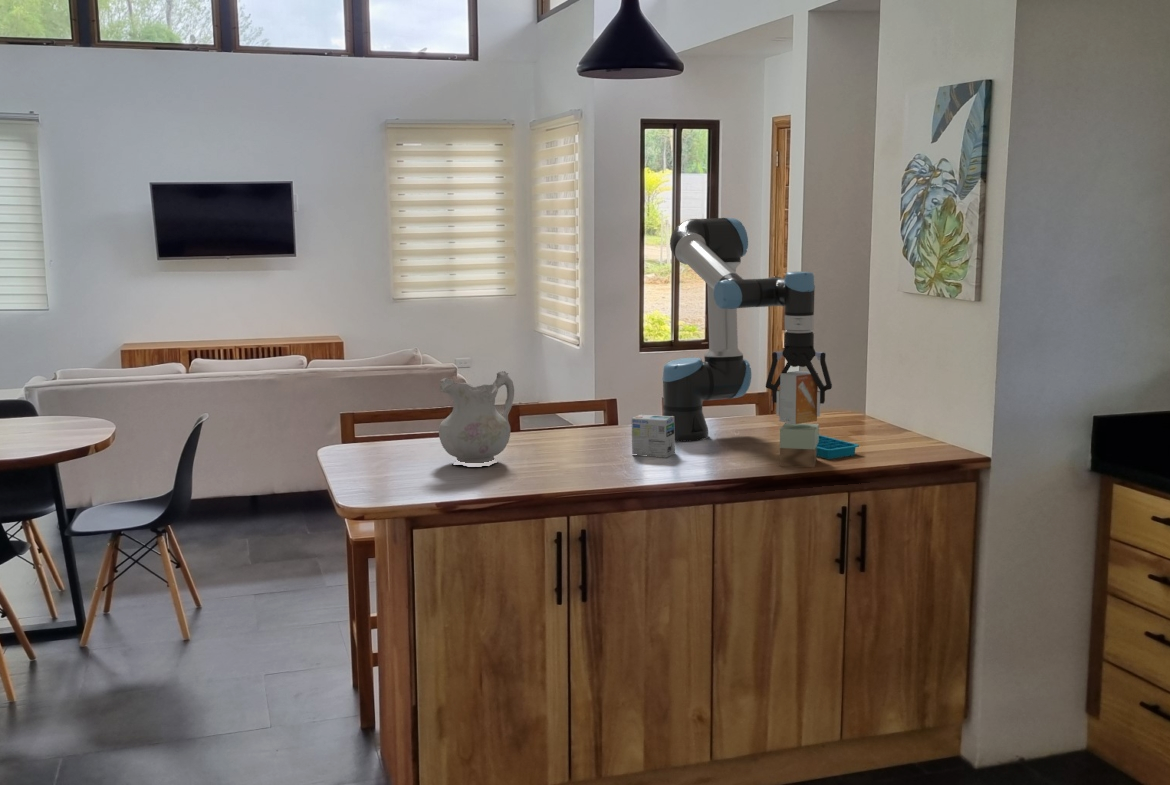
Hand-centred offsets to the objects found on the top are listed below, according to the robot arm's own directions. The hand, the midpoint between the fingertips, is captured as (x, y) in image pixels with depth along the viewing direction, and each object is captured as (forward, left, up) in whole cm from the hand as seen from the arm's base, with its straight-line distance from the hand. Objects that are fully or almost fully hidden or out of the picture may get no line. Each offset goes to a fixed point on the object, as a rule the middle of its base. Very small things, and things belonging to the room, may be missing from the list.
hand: (798, 415), depth 286 cm
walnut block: (0, 0, -13) cm, 13 cm away
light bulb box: (-40, +4, -13) cm, 42 cm away
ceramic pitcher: (-85, -14, -13) cm, 87 cm away
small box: (0, 0, -2) cm, 2 cm away
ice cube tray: (+5, +16, -13) cm, 21 cm away
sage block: (0, 0, -8) cm, 8 cm away
